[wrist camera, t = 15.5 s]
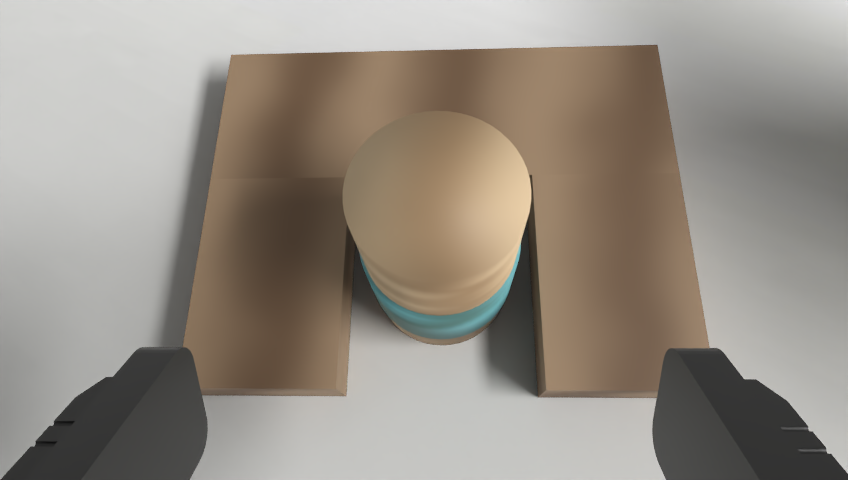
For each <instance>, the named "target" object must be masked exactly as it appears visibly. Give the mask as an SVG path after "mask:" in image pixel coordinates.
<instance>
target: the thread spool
mask: <svg viewBox="0 0 848 480" xmlns="http://www.w3.org/2000/svg"><path fill="white" fill-rule="evenodd" d="M530 205H531V184H530V178H529V174H528V171H527V167H526V165H525V163H524V161H523V159H522V157H521V155H520V154H519V152H518V150H517V149H516V148H515V146H514V145H513V144H512V143H511V142H510V140H509V139H508V138H507V137H505V136H504V135H503V134H502V133H501V132H500V131H498V130H497V129H496V128H494V127H493V126H491V125H489V124H488V123H486V122H484V121H482V120H480V119H477V118H475V117H472V116H469V115H465V114H462V113H456V112H450V111H427V112H421V113H415V114H411V115H408V116H405V117H402V118H399V119H397V120H395V121H392V122H391V123H389V124H387V125H385V126H384V127H382V128H381V129H379V130H378V131H377V132H375V133H374V134H373V135H372V136H371V137H369V138H368V139H367V140H366V141H365V142H364V144H363V145H362V146H361V147H360V148H359V150H358V151H357V153H356V154H355V156H354V157H353V159H352V161H351V163H350V165H349V167H348V170H347V173H346V176H345V180H344V185H343V209H344V215H345V218H346V221H347V225H348V227H349V229H350V232H351V234H352V236H353V238H354V241H355V243H356V245H357V248H358V250H359V253H360V259H361V263H362V266H363V269H364V272H365V274H366V276H367V278H368V280H369V283H370V285H371V287H372V289H373V291H374V294H375V296H376V298H377V300H378V302H379V304H380V306H381V307H382V309H383V310H384V312H385V313H386V314H387V315H388V317H389V318H390V320H391V321H392V322H393V323H394V324H395V325H396V327H398V328H399V329H400V330H401V331H402V332H404V333H405V334H407V335H408V336H410V337H412V338H414V339H416V340H418V341H421V342H424V343H428V344H433V345H451V344H456V343H460V342H463V341H466V340H469V339H471V338H473V337H475V336H476V335H478V334H479V333H481V332H482V331H483V330H485V329H486V328H487V327H488V326H489V325H490V324H491V323H492V321H493V320H494V319H495V317H496V316H497V314H498V313H499V311H500V309H501V307H502V306H503V304H504V302H505V300H506V298H507V296H508V293H509V290H510V287H511V283H512V280H513V277H514V274H515V270H516V267H517V264H518V261H519V256H520V250H521V239H522V236H523V232H524V229H525V226H526V222H527V219H528V215H529V212H530Z"/></svg>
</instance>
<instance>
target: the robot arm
mask: <svg viewBox="0 0 848 480" xmlns="http://www.w3.org/2000/svg"><path fill="white" fill-rule="evenodd" d="M652 430H653V443H654V449H655V453H656V457H657V460H658V462H659V465H660V467H661V469H662V471H663V474H664V476H665V478H666V480H848V474H847V473H846V471H845V470H844V469H843V468H842V467H841V465H840V464H839V463H838V462H837V461H836V459H835V458H834V457H833V456H832V454H827V452H826V447H825V446H824V445H823V444H822V442H821V441H820V440H819V439H818V438H817V436H816V435H815V434H814V433H813V432H809V430H808V426H807V424H806V423H805V422H804V421H803V420H802V418H801V417H800V416H799V415H798V414H797V412H796V411H795V410H794V409H793V408H792V406H791V405H790V404H789V403H788V402H787V401H786V400H785V399H783V398H782V397H781V396H779V395H778V394H776V393H775V392H773V391H772V390H770V389H769V388H767V387H766V386H765V385H763V384H762V383H760V382H759V381H757V380H744V379H743V377H742V376H741V375H740V374H739V372H738V371H737V370H736V368H735V367H734V366H733V364H732V363H731V362H730V361H729V359H728V358H727V357H726V355H725V354H724V353H723V352H722V351H721V350H720V349H717V348H670V349H668V350H667V352H666V353H665V356H664V359H663V365H662V371H661V377H660V382H659V388H658V394H657V400H656V406H655V412H654V418H653V428H652ZM206 439H207V417H206V412H205V408H204V403H203V398H202V394H201V389H200V385H199V380H198V376H197V371H196V367H195V362H194V358H193V355H192V353H191V351H190V350H189V349H188V348H186V347H142V348H139V349H138V350H136V351H135V352H134V353H133V354H132V356H131V357H130V358H129V359H128V360H127V361H126V363H125V364H124V365H123V366H122V367H121V368H120V370H119V371H118V372H117V373H116V374H115V375H114V376H113V377H106V378H104V379H103V380H101V381H100V382H98V383H97V384H95V385H94V386H92V387H90V388H89V389H87V390H86V391H84V392H83V393H81V394H80V395H78V396H77V397H75V399H74V400H73V401H72V402H71V403H70V404H69V405H68V406H67V407H66V408H65V410H64V411H63V412H62V413H61V414H60V415H59V416H58V417H57V418H56V419H55V421H54V425H53V426H49V427H48V428H47V429H46V430H45V432H44V433H43V434H42V435H41V436H40V437H39V438H38V439H37V440H36V445H35V446H34V447H30V448H29V449H28V450H27V451H26V452H25V454H24V455H23V456H22V457H21V458H20V459H19V460H18V461H17V462H16V463H15V465H14V466H13V467H12V468H11V469H10V470H9V471H8V472H7V473H6V474H5V475H4V477H3V478H2V479H1V480H190V478H191V476H192V474H193V472H194V470H195V468H196V466H197V465H198V463H199V461H200V459H201V457H202V454H203V452H204V448H205V445H206Z"/></svg>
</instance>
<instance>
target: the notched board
mask: <svg viewBox="0 0 848 480" xmlns="http://www.w3.org/2000/svg"><path fill="white" fill-rule="evenodd" d="M427 111H450V112H456V113H462V114H465V115H469V116H472V117H475V118H477V119H480V120H482V121H484V122H486V123H488V124H489V125H491V126H493V127H494V128H496V129H497V130H498V131H500V132H501V133H502V134H503V135H504V136H505V137H507V138H508V139H509V140H510V142H511V143H512V144H513V145H514V146H515V148H516V149H517V150H518V152H519V154H520V155H521V157H522V159H523V161H524V163H525V165H526V167H527V171H528V174H529V178H530V184H531V205H530V212H529V215H528V219H527V223H528V239H529V256H530V272H531V289H532V306H533V322H534V339H535V356H536V372H537V389H538V397H591V398H657V394H658V388H659V382H660V377H661V371H662V365H663V359H664V356H665V353H666V352H667V350H668V349H670V348H709V342H708V336H707V331H706V325H705V319H704V313H703V307H702V302H701V296H700V290H699V284H698V278H697V273H696V267H695V261H694V255H693V249H692V244H691V238H690V232H689V226H688V220H687V215H686V209H685V203H684V197H683V191H682V186H681V180H680V174H679V168H678V162H677V157H676V151H675V145H674V139H673V133H672V128H671V122H670V116H669V110H668V104H667V99H666V93H665V87H664V81H663V75H662V70H661V64H660V58H659V52H658V46H657V45H635V46H592V47H549V48H506V49H463V50H421V51H378V52H335V53H292V54H249V55H231V59H230V65H229V71H228V77H227V83H226V89H225V95H224V101H223V107H222V113H221V119H220V125H219V131H218V137H217V143H216V149H215V155H214V161H213V167H212V173H211V179H210V185H209V191H208V197H207V203H206V209H205V215H204V221H203V227H202V233H201V239H200V245H199V251H198V257H197V263H196V269H195V275H194V281H193V287H192V293H191V299H190V305H189V311H188V317H187V323H186V329H185V335H184V341H183V347H186V348H188V349H189V350H190V351H191V353H192V355H193V358H194V362H195V367H196V371H197V376H198V380H199V385H200V389H201V394H202V395H255V396H346V391H347V374H348V357H349V340H350V324H351V307H352V290H353V273H354V256H355V241H354V238H353V236H352V234H351V232H350V229H349V227H348V225H347V221H346V218H345V215H344V209H343V185H344V180H345V176H346V173H347V170H348V167H349V165H350V163H351V161H352V159H353V157H354V156H355V154H356V153H357V151H358V150H359V148H360V147H361V146H362V145H363V144H364V142H365V141H366V140H367V139H368V138H369V137H371V136H372V135H373V134H374V133H375V132H377V131H378V130H379V129H381V128H382V127H384V126H385V125H387V124H389V123H391V122H392V121H395V120H397V119H399V118H402V117H405V116H408V115H411V114H415V113H421V112H427Z"/></svg>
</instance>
